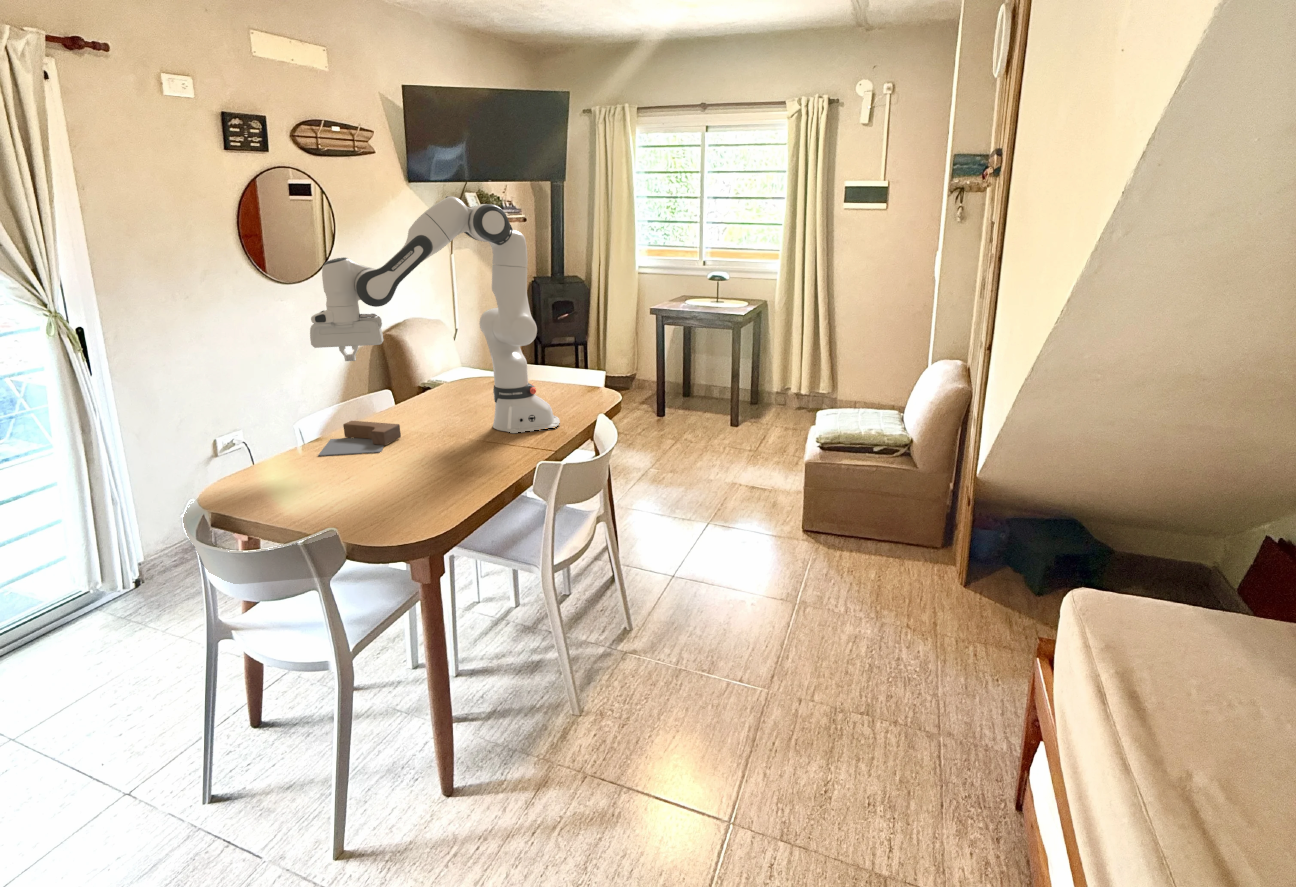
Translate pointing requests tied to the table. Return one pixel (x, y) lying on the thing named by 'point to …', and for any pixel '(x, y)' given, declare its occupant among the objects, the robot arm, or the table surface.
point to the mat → (350, 447)
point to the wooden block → (372, 431)
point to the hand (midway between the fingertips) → (350, 360)
